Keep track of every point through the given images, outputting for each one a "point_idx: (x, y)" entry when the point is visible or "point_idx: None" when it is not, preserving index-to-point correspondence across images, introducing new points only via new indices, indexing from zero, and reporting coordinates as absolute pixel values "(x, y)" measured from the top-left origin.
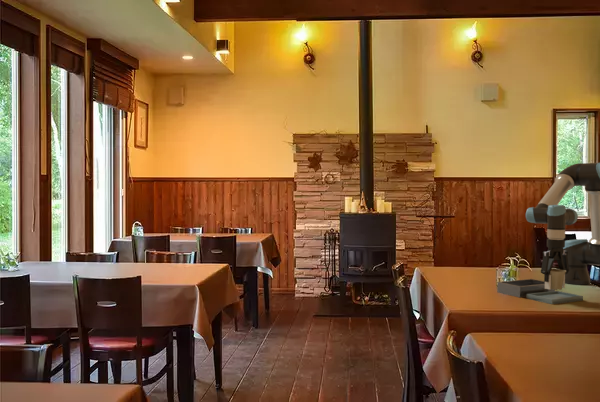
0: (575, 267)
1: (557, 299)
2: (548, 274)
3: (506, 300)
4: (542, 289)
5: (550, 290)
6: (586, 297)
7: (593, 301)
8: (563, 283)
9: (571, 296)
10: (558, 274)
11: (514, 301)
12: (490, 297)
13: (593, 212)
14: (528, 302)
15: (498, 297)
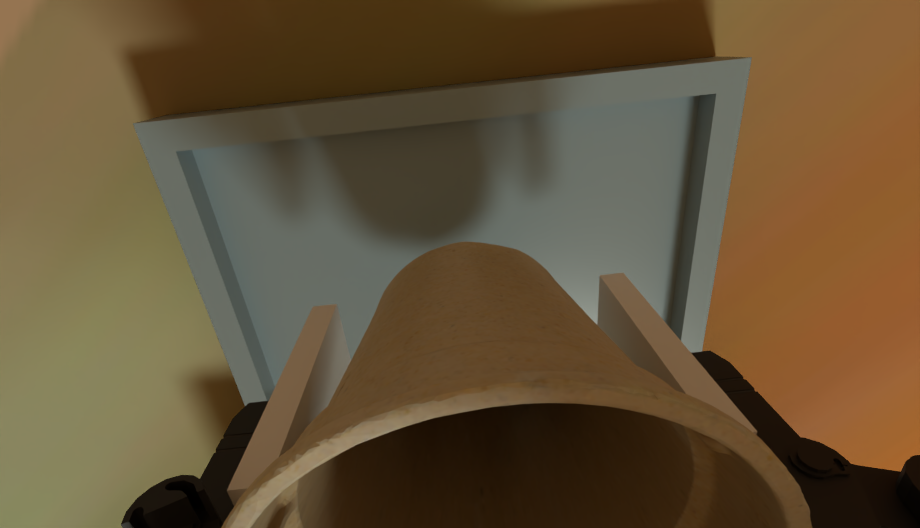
0: None
1: (641, 69)
2: (810, 447)
3: (911, 341)
4: None
5: None
6: (11, 243)
7: (48, 16)
8: (321, 347)
9: (235, 248)
10: (624, 367)
11: (899, 291)
12: (893, 451)
13: None
14: (837, 218)
15: (842, 439)
